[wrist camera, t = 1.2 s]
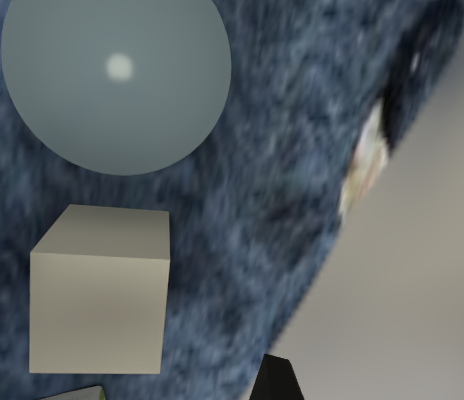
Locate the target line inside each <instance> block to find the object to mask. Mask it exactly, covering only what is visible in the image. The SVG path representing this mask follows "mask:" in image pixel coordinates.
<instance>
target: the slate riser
mask: <svg viewBox="0 0 464 400" xmlns="http://www.w3.org/2000/svg"><path fill="white" fill-rule="evenodd" d="M1 60H2V69H3V73H4V78H5V83H6V85H7V88H8V91H9V94H10V97H11V99H12V101H13V103H14V105H15V107H16V109H17V111H18V113H19V114H20V116H21V117H22V119H23V120H24V122H25V123H26V125H27V126H28V127H29V128H30V130H31V131H32V132H33V133H34V134H35V136H36V137H37V138H38V139H40V140H41V141H42V142H43V143H44V144H45V145H46V146H47V147H48V148H50V149H51V150H52V151H54V152H55V153H56V154H58V155H59V156H61V157H63V158H64V159H66V160H68V161H70V162H71V163H73V164H76V165H78V166H81V167H83V168H85V169H88V170H92V171H96V172H99V173H105V174H111V175H137V174H145V173H149V172H153V171H157V170H160V169H162V168H165V167H168V166H170V165H172V164H174V163H176V162H178V161H179V160H181V159H183V158H184V157H185V156H187V155H188V154H190V153H191V152H192V151H193V150H195V149H196V148H197V147H198V146H199V145H200V144H201V143H202V142H203V141H204V139H205V138H206V137H207V136H208V135H209V133H210V132H211V131H212V129H213V128H214V126H215V124H216V123H217V121H218V119H219V117H220V115H221V113H222V111H223V108H224V106H225V102H226V99H227V96H228V92H229V86H230V81H231V53H230V46H229V41H228V36H227V33H226V30H225V27H224V24H223V21H222V19H221V17H220V14H219V12H218V10H217V8H216V6H215V5H214V3H213V1H212V0H12V1H11V3H10V5H9V8H8V11H7V14H6V17H5V20H4V25H3V30H2V38H1Z"/></svg>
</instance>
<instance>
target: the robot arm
mask: <svg viewBox="0 0 464 400" xmlns="http://www.w3.org/2000/svg"><path fill="white" fill-rule="evenodd" d="M249 400H304V397H303V395H302V392H301V389H300V387H299V384H298V382H297V379H296V376H295V373H294V371H293V368H292V365H291V363H290V361H289V360H288V359H284V358H280V357H276V356H272V355H269V354H264V357H263V360H262V363H261V366H260V369H259V372H258V375H257V378H256V381H255V384H254V387H253V390H252V393H251V396H250V399H249Z"/></svg>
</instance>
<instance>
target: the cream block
mask: <svg viewBox="0 0 464 400" xmlns="http://www.w3.org/2000/svg"><path fill="white" fill-rule="evenodd" d="M169 266H170V237H169V211H156V210H143V209H129V208H116V207H102V206H88V205H75V204H70V205H69V206H68V207H67V208H66V210H65V211H64V212H63V213H62V214H61V216H60V217H59V218H58V219H57V221H56V222H55V223H54V224H53V225H52V227H51V228H50V229H49V230H48V231H47V233H46V234H45V235H44V236H43V238H42V239H41V240H40V241H39V242H38V244H37V245H36V246H35V247H34V249H33V250H32V251H31V252H30V362H29V373H99V374H160V365H161V354H162V343H163V332H164V321H165V310H166V299H167V288H168V277H169Z"/></svg>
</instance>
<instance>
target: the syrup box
mask: <svg viewBox="0 0 464 400" xmlns="http://www.w3.org/2000/svg"><path fill="white" fill-rule="evenodd" d="M40 400H106V397H105V394H104V392H103V389H102V387H101V386H94V387H89V388H85V389H80V390H76V391H71V392H67V393H63V394H59V395H56V396H52V397H48V398H44V399H40Z"/></svg>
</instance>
